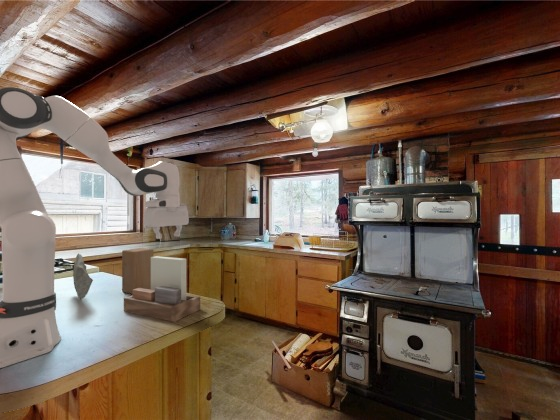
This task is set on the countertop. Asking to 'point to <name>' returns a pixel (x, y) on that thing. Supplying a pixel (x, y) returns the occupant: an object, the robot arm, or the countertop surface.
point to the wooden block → (136, 269)
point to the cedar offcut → (144, 294)
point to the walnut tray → (162, 308)
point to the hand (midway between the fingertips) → (168, 237)
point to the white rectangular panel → (169, 273)
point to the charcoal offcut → (168, 295)
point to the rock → (81, 277)
